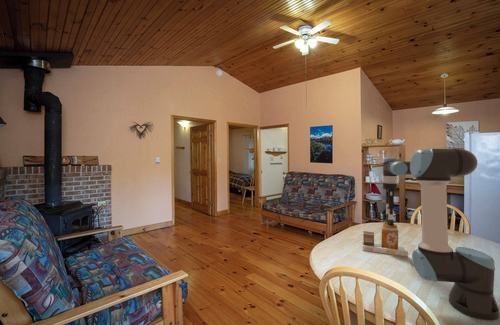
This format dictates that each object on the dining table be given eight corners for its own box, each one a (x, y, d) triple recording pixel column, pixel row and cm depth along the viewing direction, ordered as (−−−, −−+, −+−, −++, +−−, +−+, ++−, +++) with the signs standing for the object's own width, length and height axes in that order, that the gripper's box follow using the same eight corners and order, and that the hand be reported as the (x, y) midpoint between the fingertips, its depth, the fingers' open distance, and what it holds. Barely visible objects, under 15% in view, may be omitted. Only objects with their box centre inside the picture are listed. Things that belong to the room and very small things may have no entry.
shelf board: (407, 258, 143) (408, 251, 143) (362, 252, 153) (362, 245, 153) (403, 249, 156) (403, 242, 156) (362, 243, 166) (362, 238, 166)
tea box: (374, 249, 154) (374, 235, 154) (363, 247, 157) (363, 234, 156) (373, 245, 160) (373, 232, 159) (363, 244, 162) (363, 231, 162)
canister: (384, 252, 149) (384, 220, 148) (378, 245, 160) (378, 215, 159) (400, 253, 148) (401, 220, 146) (393, 246, 159) (394, 215, 157)
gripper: (400, 185, 139) (399, 222, 140) (394, 180, 161) (393, 212, 162) (384, 185, 142) (384, 221, 143) (381, 180, 164) (381, 211, 165)
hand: (389, 216), depth 152 cm, fingers open, 13 cm apart
